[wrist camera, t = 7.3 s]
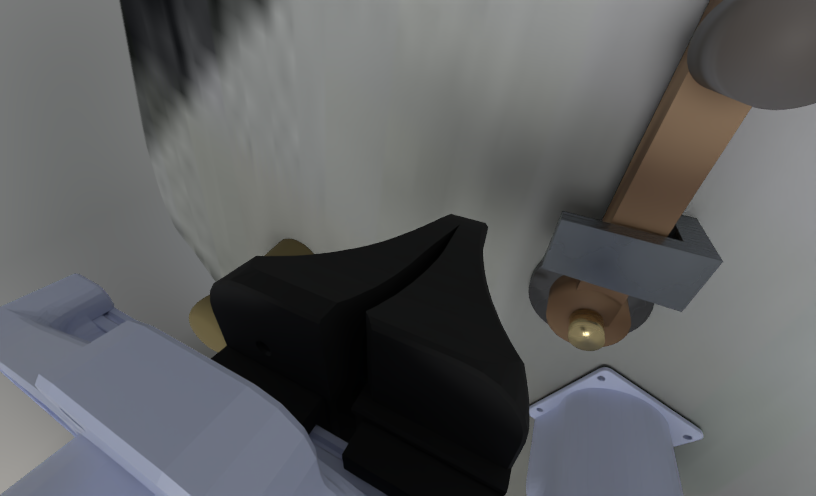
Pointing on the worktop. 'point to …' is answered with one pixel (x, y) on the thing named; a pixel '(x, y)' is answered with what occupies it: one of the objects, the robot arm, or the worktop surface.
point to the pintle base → (551, 277)
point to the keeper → (634, 258)
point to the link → (700, 128)
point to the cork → (202, 311)
